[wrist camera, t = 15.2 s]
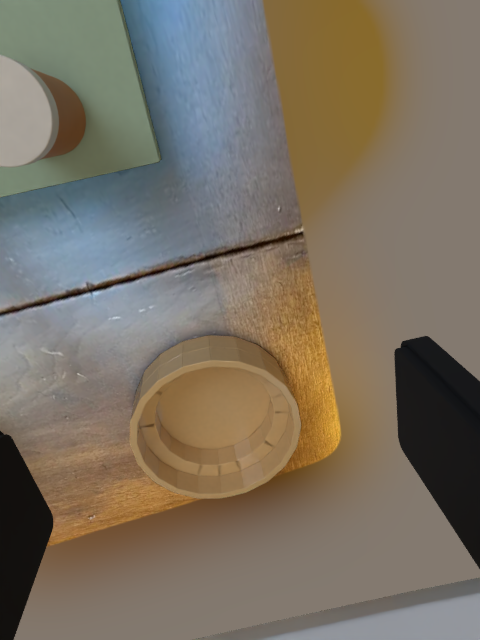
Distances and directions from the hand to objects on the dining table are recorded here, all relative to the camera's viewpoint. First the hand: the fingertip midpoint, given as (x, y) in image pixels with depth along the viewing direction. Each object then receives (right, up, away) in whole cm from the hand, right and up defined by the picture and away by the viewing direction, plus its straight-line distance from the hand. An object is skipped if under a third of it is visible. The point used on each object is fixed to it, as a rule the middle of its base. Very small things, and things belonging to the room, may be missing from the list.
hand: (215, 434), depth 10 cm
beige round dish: (-2, -5, +30) cm, 30 cm away
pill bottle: (-12, +16, +17) cm, 26 cm away
